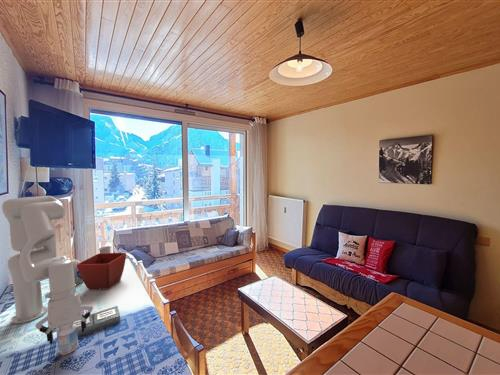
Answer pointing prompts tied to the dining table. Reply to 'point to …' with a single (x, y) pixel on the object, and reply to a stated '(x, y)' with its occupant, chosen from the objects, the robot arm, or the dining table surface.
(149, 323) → the dining table surface
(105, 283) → the plant pot
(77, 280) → the decorative egg
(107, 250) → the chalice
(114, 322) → the panel
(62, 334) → the pill bottle
